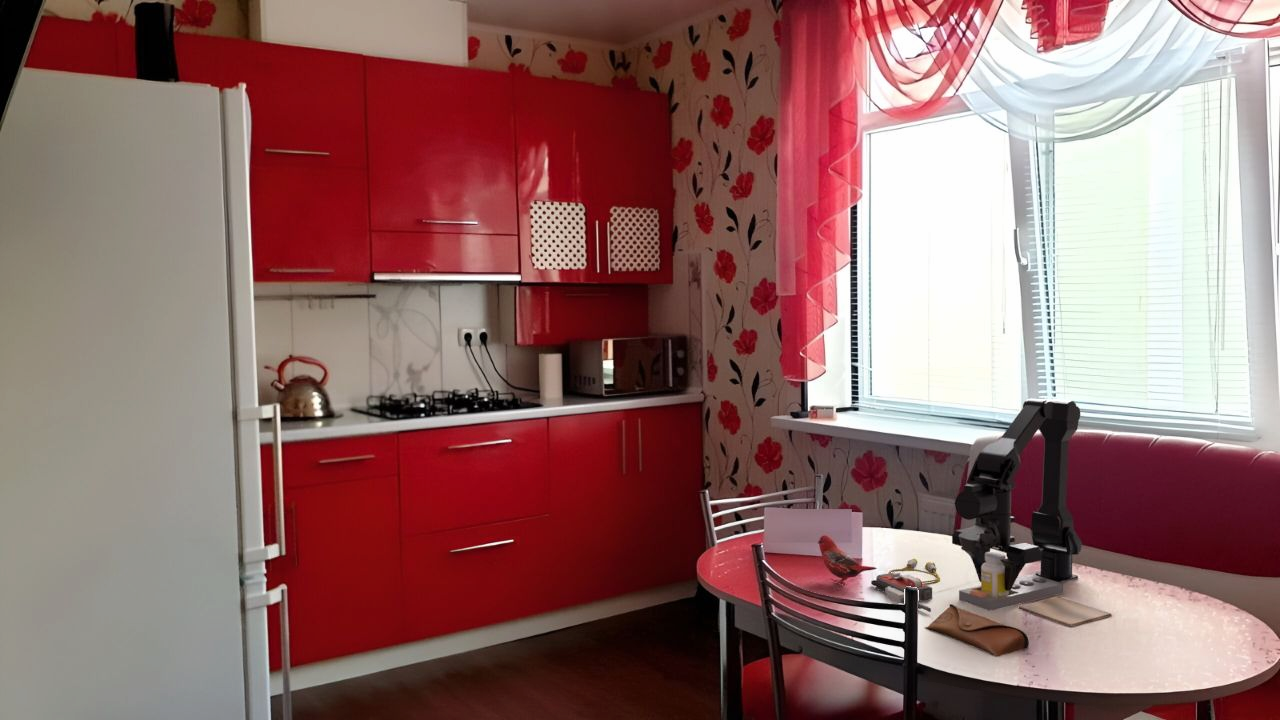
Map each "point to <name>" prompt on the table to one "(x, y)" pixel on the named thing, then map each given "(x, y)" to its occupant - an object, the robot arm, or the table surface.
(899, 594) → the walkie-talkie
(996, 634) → the sunglasses case
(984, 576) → the supplement bottle
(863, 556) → the table surface
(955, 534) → the robot arm
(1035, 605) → the walnut pad
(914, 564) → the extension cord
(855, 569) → the decorative bird figurine
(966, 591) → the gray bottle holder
